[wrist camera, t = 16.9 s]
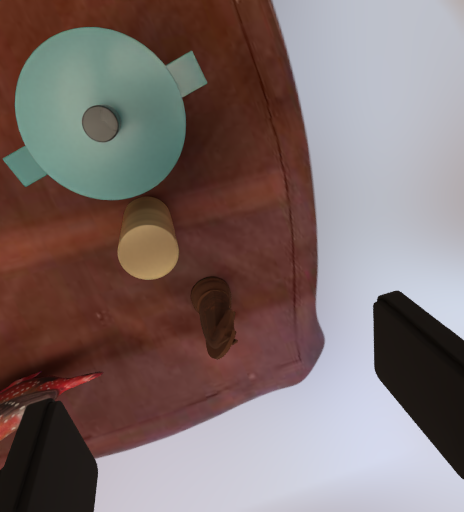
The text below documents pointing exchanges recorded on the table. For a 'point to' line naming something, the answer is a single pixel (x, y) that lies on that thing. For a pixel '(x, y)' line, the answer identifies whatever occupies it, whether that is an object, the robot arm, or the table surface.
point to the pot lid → (100, 113)
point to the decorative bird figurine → (32, 396)
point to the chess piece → (215, 315)
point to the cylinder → (147, 239)
